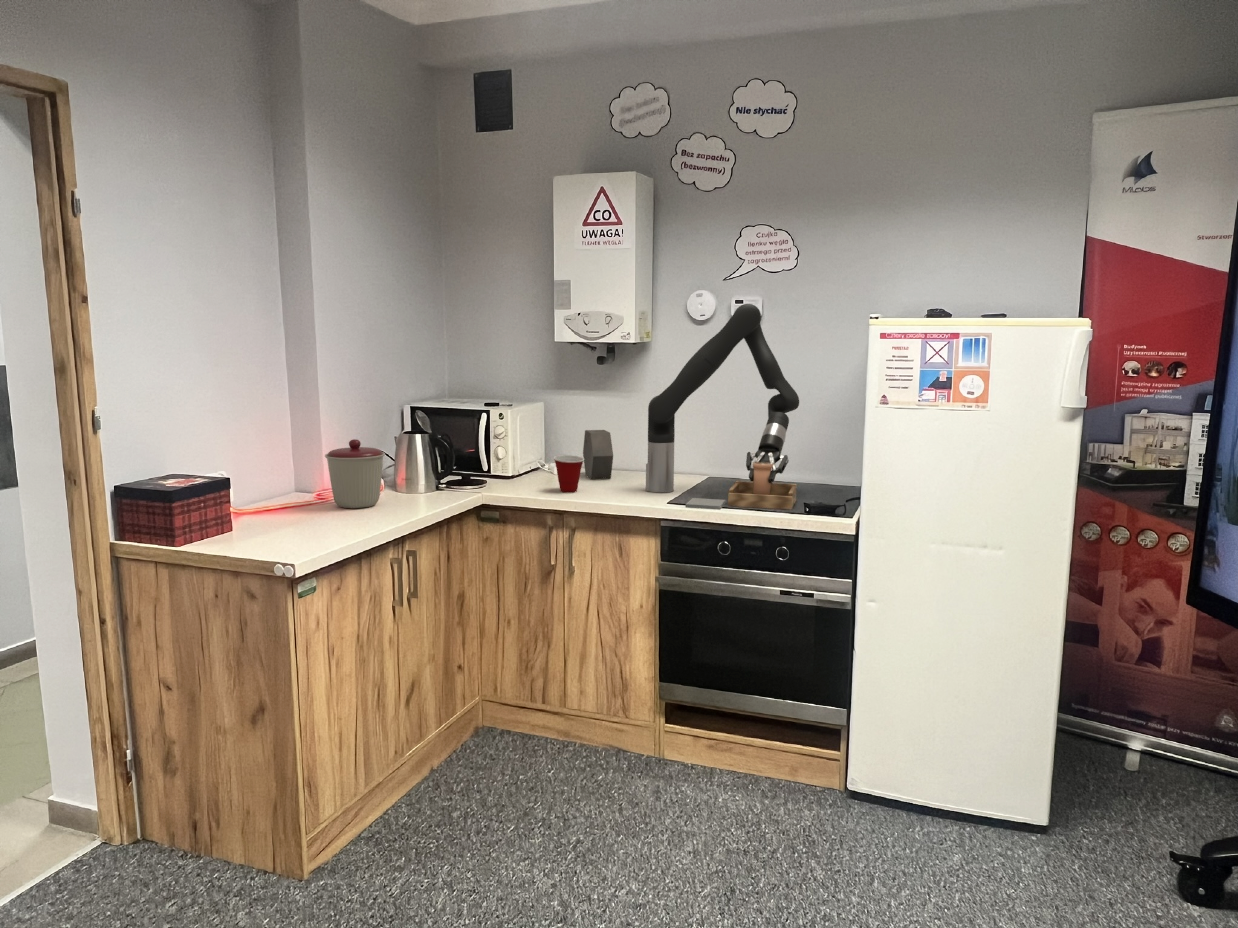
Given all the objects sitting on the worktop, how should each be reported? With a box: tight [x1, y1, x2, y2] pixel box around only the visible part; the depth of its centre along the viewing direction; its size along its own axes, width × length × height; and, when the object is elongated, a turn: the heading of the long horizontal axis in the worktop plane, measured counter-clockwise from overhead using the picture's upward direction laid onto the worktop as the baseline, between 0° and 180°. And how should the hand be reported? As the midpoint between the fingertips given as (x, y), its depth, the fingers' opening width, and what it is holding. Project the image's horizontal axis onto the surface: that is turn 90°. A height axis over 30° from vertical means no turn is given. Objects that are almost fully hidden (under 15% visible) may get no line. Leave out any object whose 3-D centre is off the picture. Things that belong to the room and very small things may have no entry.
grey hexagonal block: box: [582, 429, 614, 480], centre depth 333 cm, size 17×8×21 cm
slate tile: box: [685, 497, 727, 510], centre depth 280 cm, size 11×11×1 cm
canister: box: [324, 438, 386, 509], centre depth 274 cm, size 18×18×21 cm
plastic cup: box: [553, 454, 585, 493], centre depth 302 cm, size 11×11×12 cm
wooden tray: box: [727, 480, 797, 510], centre depth 283 cm, size 20×16×6 cm
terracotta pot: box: [752, 461, 773, 495], centre depth 282 cm, size 6×6×10 cm
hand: (760, 480), depth 280 cm, fingers closed on terracotta pot, 5 cm apart
